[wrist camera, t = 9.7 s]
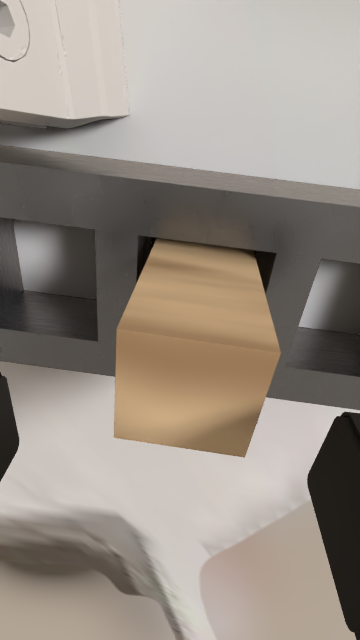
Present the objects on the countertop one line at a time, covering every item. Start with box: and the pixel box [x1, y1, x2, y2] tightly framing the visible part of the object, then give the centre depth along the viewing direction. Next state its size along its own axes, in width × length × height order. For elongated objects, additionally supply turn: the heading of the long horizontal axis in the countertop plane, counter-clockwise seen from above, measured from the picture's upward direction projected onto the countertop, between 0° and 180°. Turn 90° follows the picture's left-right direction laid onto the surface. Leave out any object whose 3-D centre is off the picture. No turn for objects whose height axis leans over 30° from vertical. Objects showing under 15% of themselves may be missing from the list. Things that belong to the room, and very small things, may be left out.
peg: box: [114, 238, 281, 457], centre depth 15 cm, size 4×4×10 cm
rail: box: [0, 145, 360, 410], centre depth 17 cm, size 10×24×4 cm, turn 84°
